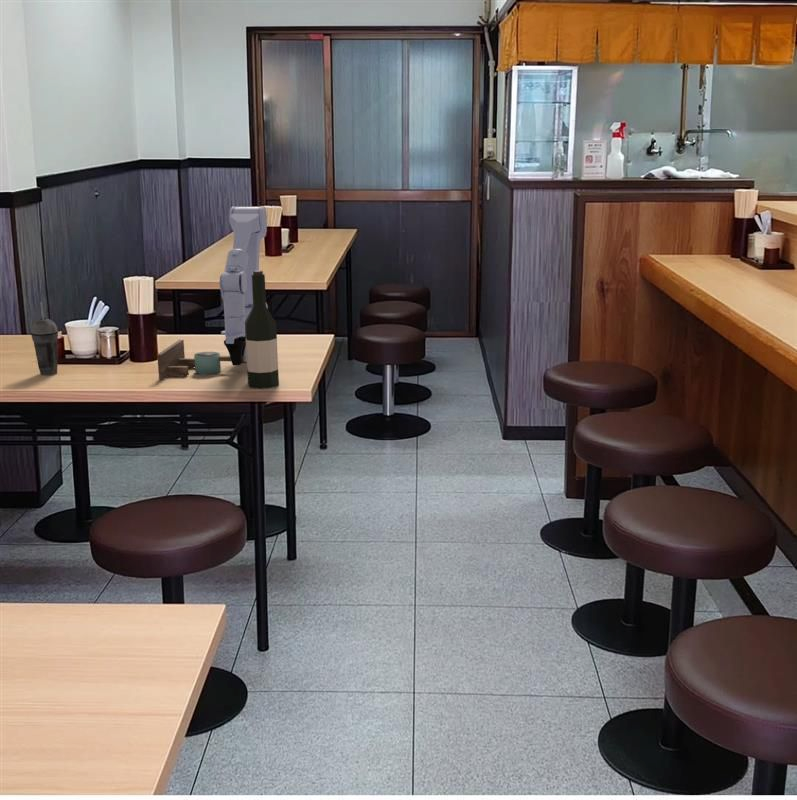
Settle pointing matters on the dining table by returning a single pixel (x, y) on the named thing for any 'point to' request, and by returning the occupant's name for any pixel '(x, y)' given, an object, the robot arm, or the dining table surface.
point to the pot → (210, 362)
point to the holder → (174, 361)
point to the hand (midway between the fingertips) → (237, 364)
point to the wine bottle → (261, 339)
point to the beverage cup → (45, 344)
